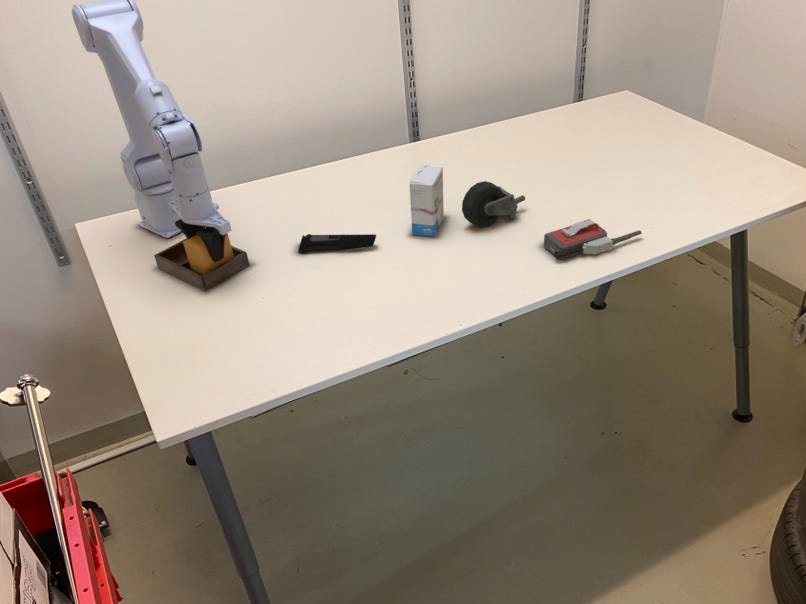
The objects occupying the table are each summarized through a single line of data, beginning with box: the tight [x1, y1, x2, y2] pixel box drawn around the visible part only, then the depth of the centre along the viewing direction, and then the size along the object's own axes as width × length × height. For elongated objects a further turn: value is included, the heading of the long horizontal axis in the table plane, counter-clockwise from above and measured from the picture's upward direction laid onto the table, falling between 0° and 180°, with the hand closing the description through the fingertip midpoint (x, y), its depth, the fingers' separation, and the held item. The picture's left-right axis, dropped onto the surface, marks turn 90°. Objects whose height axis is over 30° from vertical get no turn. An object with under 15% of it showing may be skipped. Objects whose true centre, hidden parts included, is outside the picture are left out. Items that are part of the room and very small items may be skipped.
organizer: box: [153, 237, 250, 292], centre depth 138 cm, size 14×11×3 cm
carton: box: [183, 232, 234, 275], centre depth 135 cm, size 4×7×6 cm, turn 145°
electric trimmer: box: [297, 233, 377, 253], centre depth 143 cm, size 4×16×3 cm, turn 92°
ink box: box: [409, 164, 445, 238], centre depth 147 cm, size 9×5×12 cm, turn 168°
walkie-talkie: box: [543, 218, 642, 260], centre depth 143 cm, size 9×4×20 cm
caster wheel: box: [461, 180, 526, 228], centre depth 149 cm, size 6×10×15 cm
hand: (210, 255), depth 135 cm, fingers closed on carton, 4 cm apart
